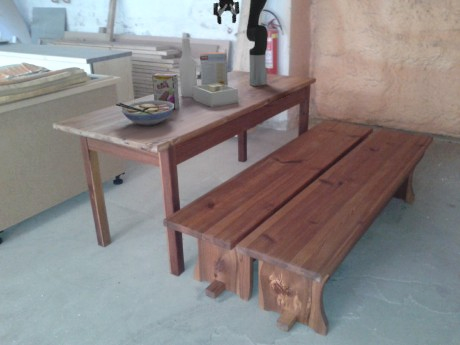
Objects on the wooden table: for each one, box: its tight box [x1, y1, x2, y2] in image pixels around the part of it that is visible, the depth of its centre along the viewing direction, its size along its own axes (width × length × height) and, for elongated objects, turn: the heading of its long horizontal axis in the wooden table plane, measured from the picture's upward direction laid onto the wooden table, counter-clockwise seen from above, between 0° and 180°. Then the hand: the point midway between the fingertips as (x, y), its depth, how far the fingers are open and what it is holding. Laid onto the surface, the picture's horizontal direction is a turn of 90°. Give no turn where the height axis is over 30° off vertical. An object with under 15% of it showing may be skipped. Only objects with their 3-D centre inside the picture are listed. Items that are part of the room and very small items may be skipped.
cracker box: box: [199, 51, 229, 86], centre depth 248 cm, size 14×6×21 cm, turn 84°
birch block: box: [208, 84, 222, 92], centre depth 230 cm, size 5×5×7 cm
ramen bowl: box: [115, 99, 174, 126], centre depth 196 cm, size 25×23×8 cm
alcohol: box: [178, 37, 198, 98], centre depth 238 cm, size 9×9×30 cm
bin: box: [192, 83, 239, 108], centre depth 230 cm, size 15×19×7 cm
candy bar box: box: [152, 73, 180, 111], centre depth 217 cm, size 11×5×16 cm, turn 71°
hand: (226, 23), depth 233 cm, fingers open, 8 cm apart
